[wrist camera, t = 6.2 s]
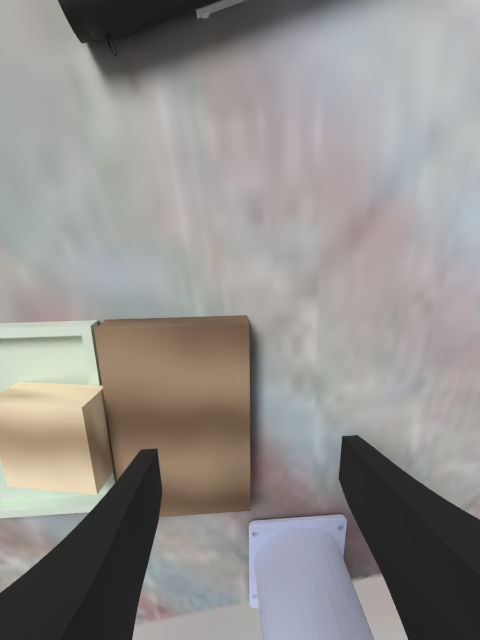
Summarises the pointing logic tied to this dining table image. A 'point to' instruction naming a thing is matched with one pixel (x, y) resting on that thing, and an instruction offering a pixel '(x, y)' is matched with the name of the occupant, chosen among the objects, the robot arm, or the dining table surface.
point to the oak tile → (55, 437)
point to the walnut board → (181, 406)
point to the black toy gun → (130, 15)
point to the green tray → (48, 367)
